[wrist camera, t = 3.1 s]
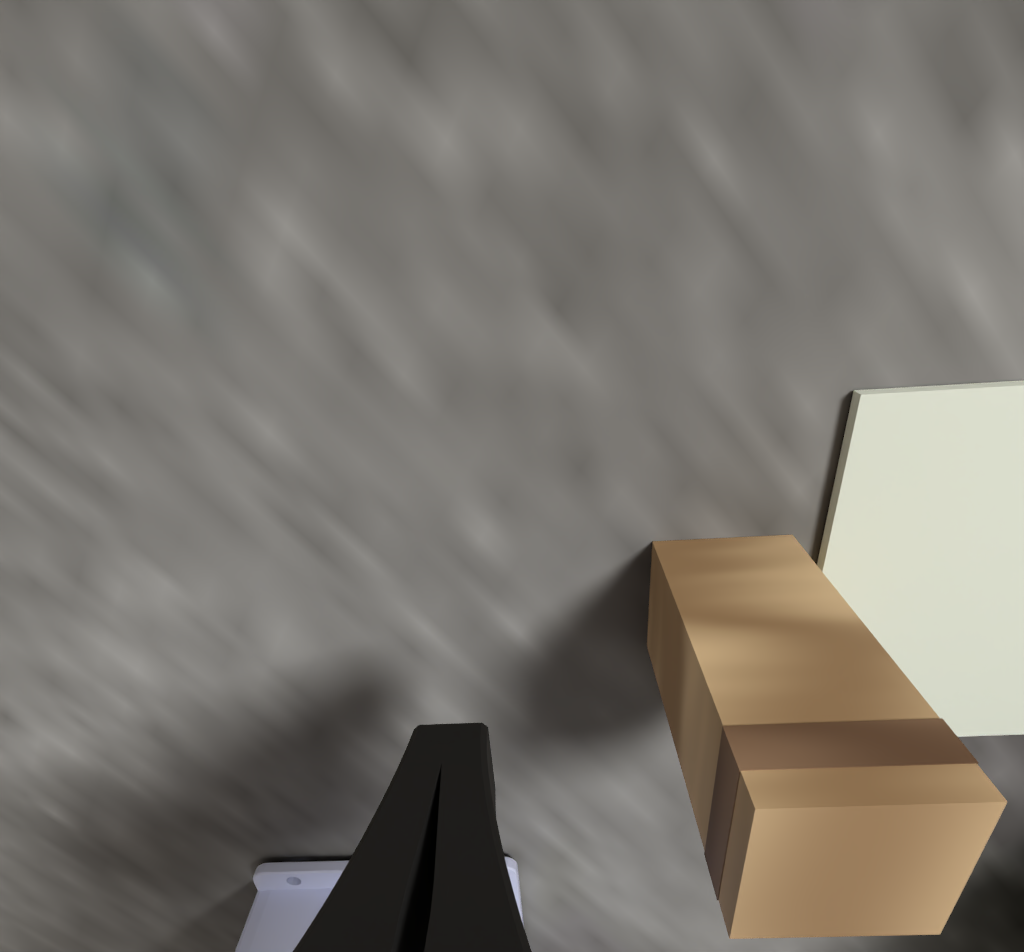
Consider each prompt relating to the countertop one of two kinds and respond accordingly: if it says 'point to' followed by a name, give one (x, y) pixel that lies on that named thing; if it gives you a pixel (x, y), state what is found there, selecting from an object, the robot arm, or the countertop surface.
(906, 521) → the felt mat
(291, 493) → the countertop surface
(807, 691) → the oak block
